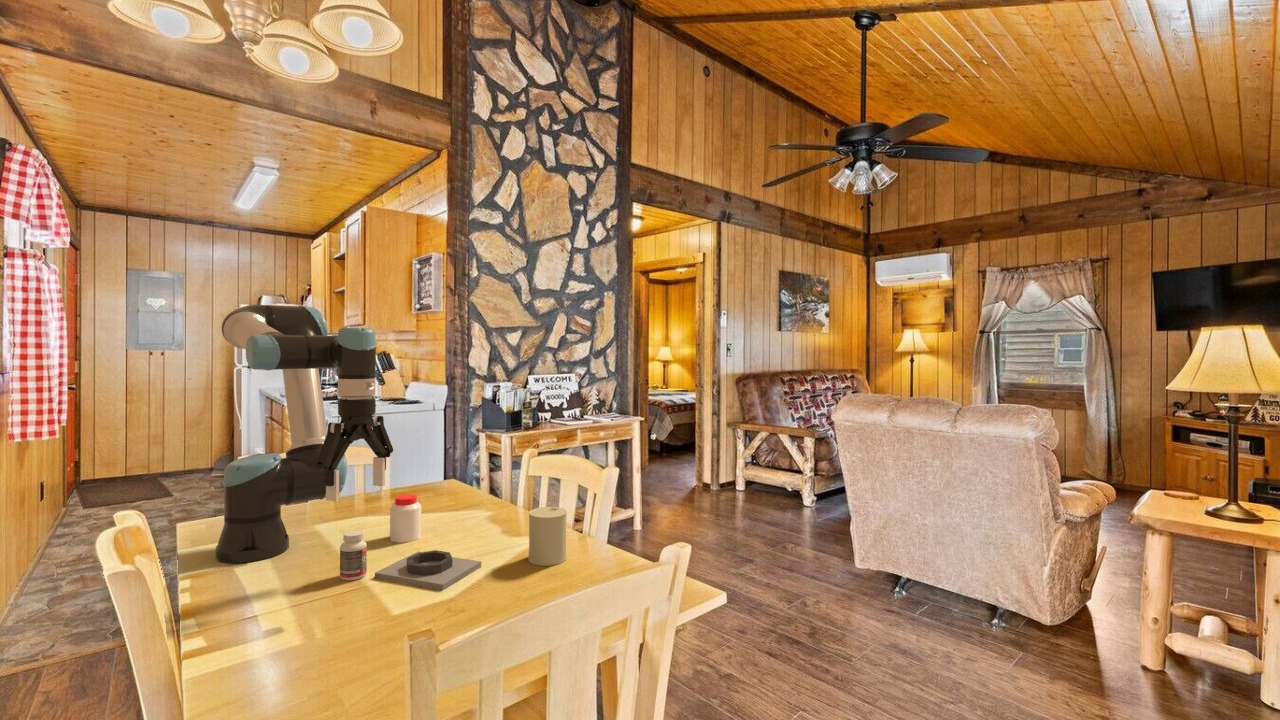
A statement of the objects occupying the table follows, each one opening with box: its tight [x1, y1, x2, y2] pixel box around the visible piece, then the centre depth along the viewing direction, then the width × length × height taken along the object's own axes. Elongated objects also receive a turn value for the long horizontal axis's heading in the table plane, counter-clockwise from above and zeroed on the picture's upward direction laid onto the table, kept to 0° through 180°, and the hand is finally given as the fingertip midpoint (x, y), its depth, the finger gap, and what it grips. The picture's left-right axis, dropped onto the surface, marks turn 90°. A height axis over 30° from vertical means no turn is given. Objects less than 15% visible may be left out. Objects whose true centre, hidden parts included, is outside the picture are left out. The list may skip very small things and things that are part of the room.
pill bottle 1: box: [339, 529, 368, 582], centre depth 132 cm, size 5×5×10 cm
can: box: [527, 506, 568, 567], centre depth 145 cm, size 9×9×12 cm
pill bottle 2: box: [389, 493, 422, 544], centre depth 158 cm, size 8×8×11 cm
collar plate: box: [374, 549, 482, 591], centre depth 135 cm, size 18×14×3 cm
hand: (356, 492), depth 132 cm, fingers open, 13 cm apart
